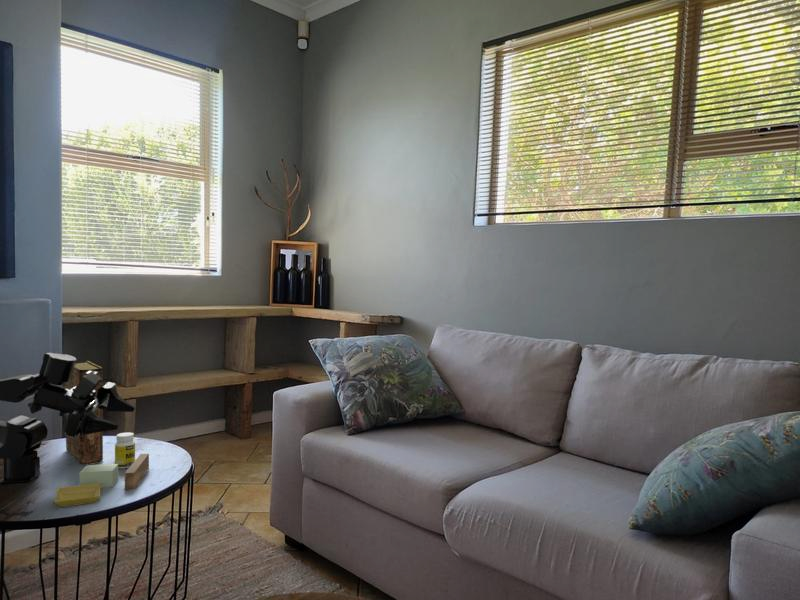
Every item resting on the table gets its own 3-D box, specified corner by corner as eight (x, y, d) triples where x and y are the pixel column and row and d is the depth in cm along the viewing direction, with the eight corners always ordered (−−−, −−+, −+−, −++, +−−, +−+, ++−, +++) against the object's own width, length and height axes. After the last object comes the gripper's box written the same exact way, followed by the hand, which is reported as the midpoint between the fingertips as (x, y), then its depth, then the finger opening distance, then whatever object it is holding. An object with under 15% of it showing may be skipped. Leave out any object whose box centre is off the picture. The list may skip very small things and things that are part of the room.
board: (124, 490, 132) (124, 473, 131) (140, 469, 145) (140, 453, 145) (134, 489, 132) (133, 472, 132) (148, 468, 146) (148, 453, 145)
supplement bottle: (126, 470, 145) (126, 437, 144) (110, 468, 145) (110, 436, 145) (139, 464, 149) (139, 432, 149) (123, 462, 150) (123, 431, 150)
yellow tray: (101, 490, 132) (101, 482, 132) (100, 504, 124) (100, 495, 124) (57, 496, 128) (57, 487, 128) (54, 511, 120) (54, 501, 120)
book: (104, 461, 150) (104, 368, 149) (81, 465, 147) (80, 370, 146) (87, 446, 163) (87, 360, 161) (66, 450, 159) (65, 362, 158)
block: (79, 489, 132) (79, 472, 132) (86, 481, 137) (86, 465, 137) (112, 487, 133) (112, 470, 133) (118, 480, 138) (118, 463, 138)
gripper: (46, 386, 126) (116, 407, 128) (88, 356, 144) (149, 374, 146) (37, 429, 129) (106, 448, 131) (80, 394, 147) (139, 411, 149)
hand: (126, 418), depth 139 cm, fingers open, 9 cm apart
